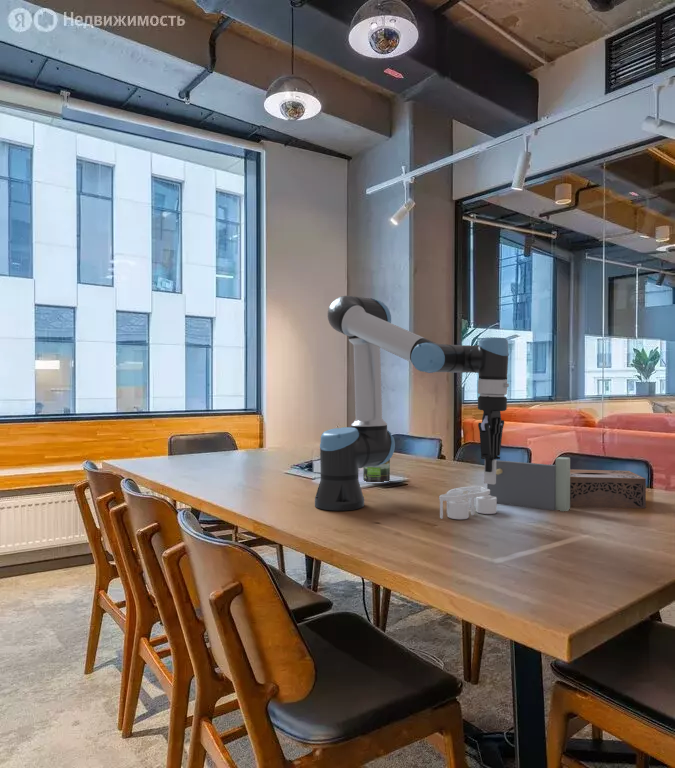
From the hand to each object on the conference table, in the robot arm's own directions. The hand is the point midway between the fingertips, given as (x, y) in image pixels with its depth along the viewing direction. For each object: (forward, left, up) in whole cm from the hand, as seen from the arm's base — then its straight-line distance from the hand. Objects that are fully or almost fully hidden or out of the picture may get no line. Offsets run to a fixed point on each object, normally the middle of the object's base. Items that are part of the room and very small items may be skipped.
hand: (489, 483), depth 155 cm
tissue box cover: (+42, -17, -12) cm, 47 cm away
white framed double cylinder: (+4, +9, -12) cm, 15 cm away
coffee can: (+36, +58, -11) cm, 69 cm away
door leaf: (+23, -1, -11) cm, 25 cm away
